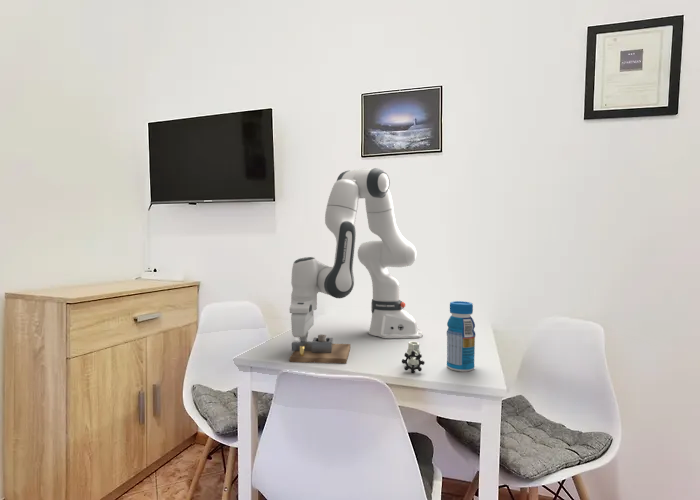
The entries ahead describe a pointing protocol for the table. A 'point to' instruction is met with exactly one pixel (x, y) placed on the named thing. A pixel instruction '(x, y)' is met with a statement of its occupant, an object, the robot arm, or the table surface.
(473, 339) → the beverage bottle
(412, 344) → the valve
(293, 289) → the robot arm
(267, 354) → the table surface
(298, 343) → the square loop paddle
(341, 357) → the base
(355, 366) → the table surface
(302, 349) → the dowel
